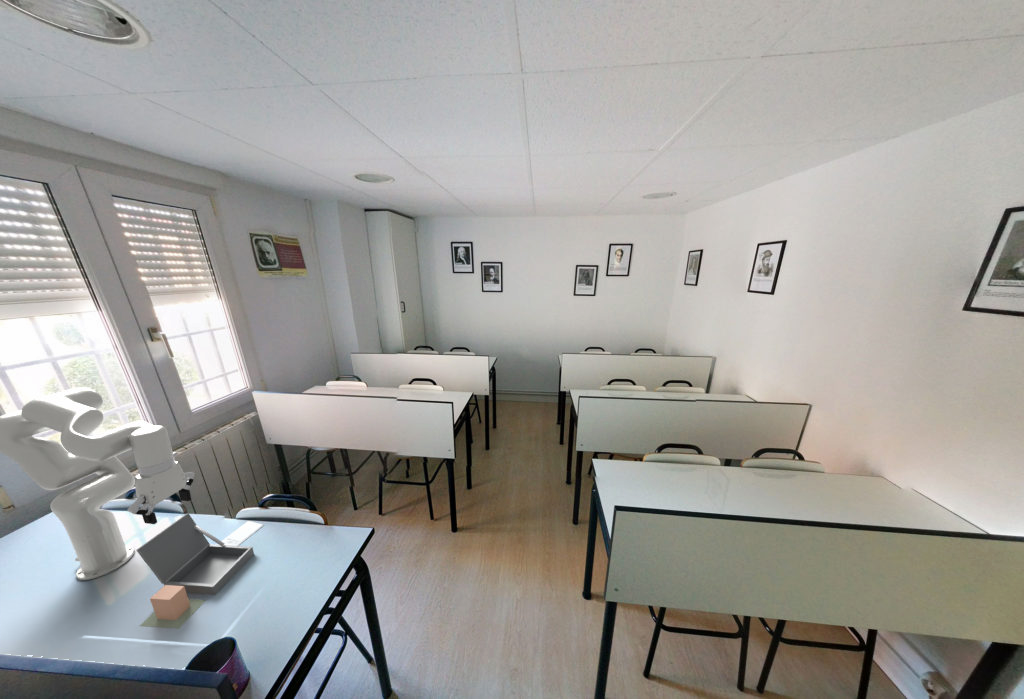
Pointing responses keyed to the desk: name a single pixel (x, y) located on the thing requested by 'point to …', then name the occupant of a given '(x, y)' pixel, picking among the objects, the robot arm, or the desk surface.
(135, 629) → the desk surface
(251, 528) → the external hard drive
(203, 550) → the equipment case
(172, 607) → the block
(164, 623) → the olive mat
